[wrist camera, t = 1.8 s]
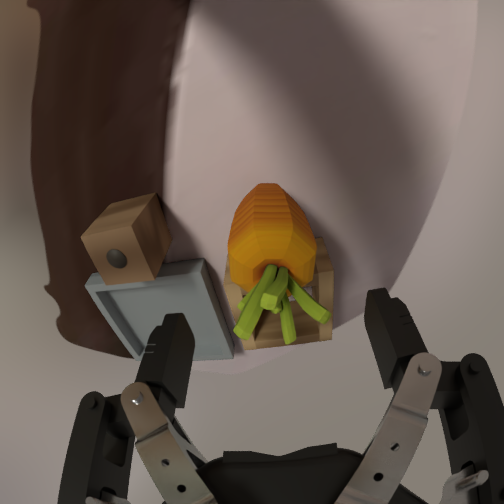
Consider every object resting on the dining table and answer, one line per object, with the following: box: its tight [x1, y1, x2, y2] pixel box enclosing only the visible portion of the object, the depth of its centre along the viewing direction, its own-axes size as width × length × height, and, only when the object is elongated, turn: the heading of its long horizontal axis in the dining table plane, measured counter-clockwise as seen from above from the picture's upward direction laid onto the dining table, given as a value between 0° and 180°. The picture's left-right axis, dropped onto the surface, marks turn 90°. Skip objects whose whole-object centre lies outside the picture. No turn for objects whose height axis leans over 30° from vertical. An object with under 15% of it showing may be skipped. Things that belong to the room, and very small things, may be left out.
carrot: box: [228, 183, 332, 344], centre depth 17 cm, size 5×5×15 cm
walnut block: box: [81, 193, 172, 286], centre depth 23 cm, size 5×5×6 cm
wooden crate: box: [223, 237, 334, 350], centre depth 27 cm, size 9×9×5 cm
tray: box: [85, 258, 234, 361], centre depth 31 cm, size 14×14×2 cm
